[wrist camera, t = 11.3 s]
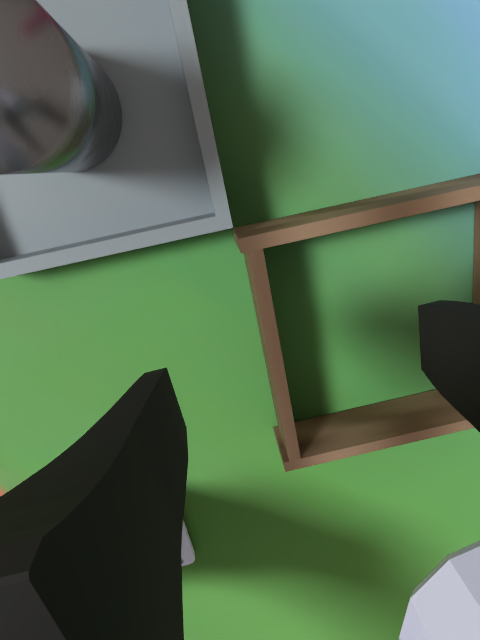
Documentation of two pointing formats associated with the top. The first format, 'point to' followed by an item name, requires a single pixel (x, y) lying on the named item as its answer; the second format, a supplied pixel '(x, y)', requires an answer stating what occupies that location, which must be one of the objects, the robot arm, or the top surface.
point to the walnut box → (292, 437)
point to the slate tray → (124, 147)
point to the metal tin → (51, 97)
